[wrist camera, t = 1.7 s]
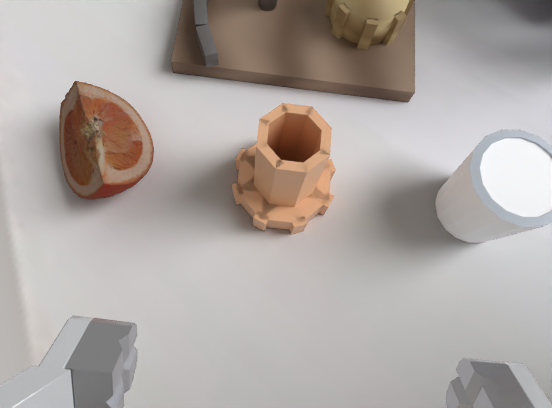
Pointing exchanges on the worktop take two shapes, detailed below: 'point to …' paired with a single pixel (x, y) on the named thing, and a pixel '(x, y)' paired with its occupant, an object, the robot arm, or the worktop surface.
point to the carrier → (302, 44)
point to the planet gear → (286, 169)
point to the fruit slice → (102, 142)
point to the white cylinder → (499, 188)
